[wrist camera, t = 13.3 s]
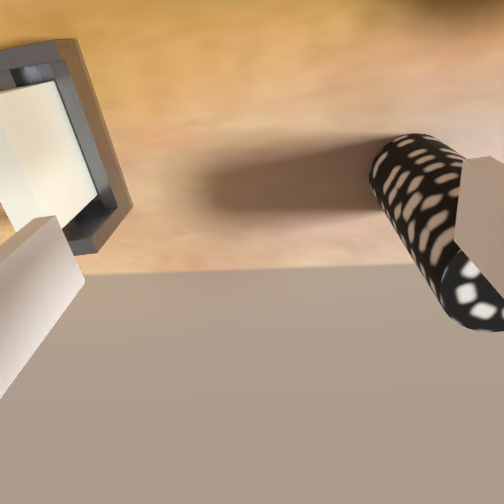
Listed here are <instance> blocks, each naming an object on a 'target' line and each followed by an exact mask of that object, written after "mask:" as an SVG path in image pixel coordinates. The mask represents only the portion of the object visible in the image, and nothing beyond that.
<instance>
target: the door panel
mask: <svg viewBox="0 0 504 504" xmlns="http://www.w3.org/2000/svg"><path fill="white" fill-rule="evenodd" d="M98 194H99V193H98V190H97V187H96V185H95V182H94V179H93V177H92V174H91V171H90V169H89V166H88V164H87V161H86V158H85V156H84V153H83V150H82V148H81V145H80V142H79V140H78V137H77V135H76V132H75V129H74V127H73V124H72V121H71V119H70V116H69V113H68V111H67V108H66V106H65V103H64V100H63V98H62V95H61V92H60V90H59V87H58V84H57V82H56V80H51V81H45V82H40V83H35V84H31V85H27V86H23V87H18V88H14V89H10V90H6V91H2V92H0V202H1V204H2V206H3V208H4V210H5V212H6V214H7V216H8V218H9V220H10V221H11V223H12V225H13V227H14V229H15V231H16V232H18V231H19V230H20V229H21V228H23V227H24V226H25V225H26V224H28V223H29V222H30V221H31V220H33V219H34V218H38V217H46V216H53V215H55V216H56V218H57V220H58V222H59V224H60V227H61V229H62V228H63V227H64V226H65V225H67V224H68V223H69V222H70V221H71V220H72V219H73V218H74V217H75V216H76V215H77V214H78V213H79V212H80V211H81V210H82V209H83V208H84V207H85V206H86V205H87V204H88V203H89V202H90V201H91V200H92V199H93V198H95V197H96V196H97V195H98Z"/></svg>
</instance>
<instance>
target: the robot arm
mask: <svg viewBox="0 0 504 504" xmlns="http://www.w3.org/2000/svg"><path fill="white" fill-rule="evenodd" d="M454 241H455V243H456V244H457V245H458V246H459V247H460V248H461V250H462V251H463V252H464V253H465V254H466V255H467V257H468V258H469V259H470V260H471V261H472V262H473V264H474V265H475V266H476V267H477V268H478V269H479V271H480V272H481V273H482V274H483V275H484V276H485V278H486V279H487V280H488V281H489V282H490V283H491V285H492V286H493V287H494V288H495V289H496V290H497V292H498V293H499V294H500V295H501V296H502V297H503V299H504V164H502V163H501V162H499V161H497V160H496V159H494V158H492V157H491V156H488V157H480V158H473V159H466V160H463V163H462V172H461V181H460V189H459V198H458V207H457V215H456V224H455V233H454ZM84 283H85V280H84V277H83V275H82V273H81V271H80V269H79V266H78V264H77V262H76V260H75V257H74V255H73V253H72V251H71V249H70V246H69V244H68V242H67V240H66V238H65V235H64V233H63V231H62V229H61V227H60V224H59V222H58V220H57V218H56V216H55V215H53V216H46V217H38V218H34V219H33V220H31V221H30V222H29V223H28V224H26V225H25V226H24V227H23V228H21V229H20V230H19V231H18V232H16V233H15V234H14V235H13V236H12V237H10V238H9V239H8V240H7V241H5V242H4V243H3V244H2V245H0V398H1V397H2V396H3V394H4V393H5V392H6V390H7V389H8V387H9V386H10V385H11V383H12V382H13V381H14V379H15V378H16V376H17V375H18V374H19V372H20V371H21V370H22V368H23V367H24V366H25V364H26V363H27V361H28V360H29V359H30V357H31V356H32V354H33V353H34V352H35V350H36V349H37V348H38V346H39V345H40V344H41V342H42V341H43V339H44V338H45V337H46V335H47V334H48V333H49V331H50V330H51V328H52V327H53V326H54V324H55V323H56V322H57V320H58V319H59V317H60V316H61V315H62V313H63V312H64V311H65V309H66V308H67V307H68V305H69V304H70V302H71V301H72V299H73V298H74V297H75V296H76V294H77V293H78V291H79V290H80V288H81V287H82V286H83V285H84Z"/></svg>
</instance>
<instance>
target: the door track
mask: <svg viewBox="0 0 504 504" xmlns="http://www.w3.org/2000/svg"><path fill="white" fill-rule="evenodd" d="M51 80H56V82H57V84H58V87H59V90H60V92H61V95H62V98H63V100H64V103H65V106H66V108H67V111H68V113H69V116H70V119H71V121H72V124H73V127H74V129H75V132H76V135H77V137H78V140H79V142H80V145H81V148H82V150H83V153H84V156H85V158H86V161H87V164H88V166H89V169H90V171H91V174H92V177H93V179H94V182H95V185H96V187H97V190H98V193H99V194H98V195H97V196H96V197H95V198H93V199H92V200H91V201H90V202H89V203H88V204H87V205H86V206H85V207H84V208H83V209H82V210H81V211H80V212H79V213H78V214H77V215H76V216H75V217H74V218H73V219H72V220H71V221H70V222H69V223H68V224H67V225H65V226H64V227H63V228H62V231H63V233H64V235H65V238H66V240H67V242H68V244H69V246H70V249H71V251H72V253H73V255H74V256H77V255H85V254H93V253H98V251H99V250H100V249H101V247H102V246H103V245H104V243H105V242H106V241H107V240H108V238H109V237H110V236H111V234H112V233H113V232H114V230H115V229H116V228H117V227H118V225H119V224H120V223H121V221H122V220H123V219H124V218H125V216H126V215H127V214H128V212H129V211H130V210H131V208H132V207H133V204H132V201H131V198H130V195H129V192H128V189H127V186H126V183H125V180H124V177H123V174H122V171H121V168H120V166H119V163H118V160H117V157H116V154H115V151H114V148H113V145H112V142H111V139H110V136H109V133H108V130H107V127H106V124H105V121H104V118H103V115H102V112H101V109H100V106H99V103H98V100H97V98H96V95H95V92H94V89H93V86H92V83H91V80H90V77H89V74H88V71H87V68H86V65H85V62H84V59H83V56H82V53H81V50H80V47H79V44H78V41H77V39H62V40H51V41H46V42H41V43H36V44H31V45H26V46H20V47H15V48H10V49H5V50H0V87H1V90H2V91H6V90H10V89H14V88H18V87H23V86H27V85H31V84H35V83H40V82H45V81H51Z"/></svg>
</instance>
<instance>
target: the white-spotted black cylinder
mask: <svg viewBox="0 0 504 504" xmlns="http://www.w3.org/2000/svg"><path fill="white" fill-rule="evenodd" d="M463 160H466V158H465V157H463V156H462V155H460V154H459V153H457V152H456V151H454V150H453V149H451V148H450V147H448V146H447V145H445V144H444V143H442V142H441V141H439V140H438V139H436V138H434V137H432V136H429V135H426V134H408V135H405V136H402V137H399V138H397V139H395V140H393V141H391V142H390V143H389V144H387V145H386V146H385V147H384V148H383V149H382V150H381V151H380V152H379V153H378V155H377V156H376V158H375V159H374V161H373V164H372V166H371V170H370V174H369V182H370V187H371V190H372V192H373V195H374V196H375V198H376V199H377V201H378V203H379V204H380V206H381V208H382V209H383V211H384V213H385V214H386V216H387V217H388V219H389V221H390V222H391V224H392V226H393V227H394V229H395V231H396V232H397V234H398V235H399V237H400V239H401V240H402V242H403V244H404V245H405V247H406V249H407V250H408V252H409V253H410V255H411V257H412V258H413V260H414V262H415V263H416V265H417V266H418V268H419V270H420V271H421V273H422V275H423V276H424V278H425V280H426V281H427V283H428V284H429V286H430V288H431V289H432V291H433V293H434V294H435V296H436V298H437V299H438V301H439V302H440V304H441V306H442V307H443V309H444V310H445V312H446V313H447V314H448V316H449V317H450V318H451V319H453V320H454V321H455V322H457V323H458V324H460V325H462V326H464V327H466V328H469V329H473V330H477V331H485V332H499V331H504V299H503V297H502V296H501V295H500V294H499V293H498V292H497V290H496V289H495V288H494V287H493V286H492V285H491V283H490V282H489V281H488V280H487V279H486V278H485V276H484V275H483V274H482V273H481V272H480V271H479V269H478V268H477V267H476V266H475V265H474V264H473V262H472V261H471V260H470V259H469V258H468V257H467V255H466V254H465V253H464V252H463V251H462V250H461V248H460V247H459V246H458V245H457V244H456V243H455V241H454V233H455V224H456V215H457V207H458V198H459V189H460V181H461V172H462V163H463Z"/></svg>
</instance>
